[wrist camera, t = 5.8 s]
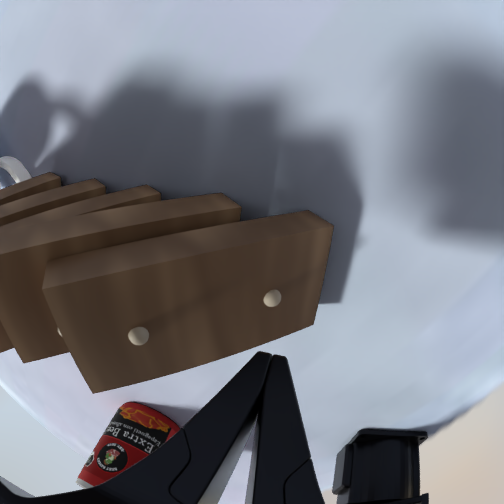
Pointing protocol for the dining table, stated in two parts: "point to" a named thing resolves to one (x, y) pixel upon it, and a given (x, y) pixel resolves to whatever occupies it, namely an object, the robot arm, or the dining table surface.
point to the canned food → (126, 442)
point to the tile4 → (50, 200)
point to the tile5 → (29, 187)
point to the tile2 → (79, 241)
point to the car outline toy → (14, 169)
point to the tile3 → (100, 203)
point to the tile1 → (187, 296)
